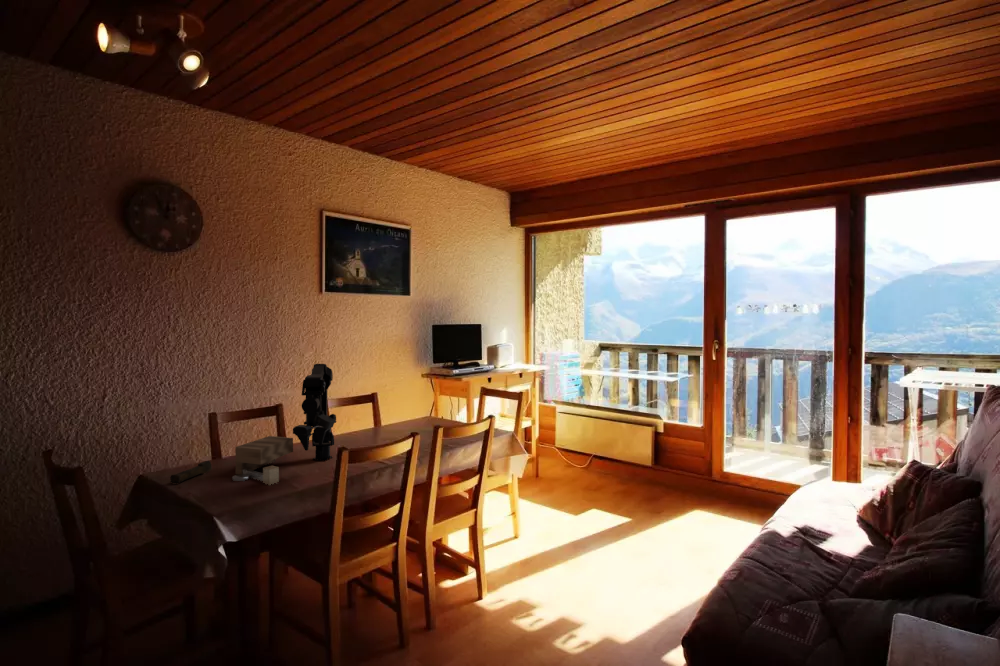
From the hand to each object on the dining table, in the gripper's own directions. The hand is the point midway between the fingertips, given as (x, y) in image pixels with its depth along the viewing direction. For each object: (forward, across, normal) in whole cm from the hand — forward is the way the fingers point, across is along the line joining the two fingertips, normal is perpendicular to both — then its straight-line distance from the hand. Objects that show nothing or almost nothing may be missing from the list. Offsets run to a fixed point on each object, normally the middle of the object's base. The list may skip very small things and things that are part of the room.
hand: (313, 447), depth 213 cm
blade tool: (+12, -9, +19) cm, 24 cm away
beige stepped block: (+12, +4, +26) cm, 29 cm away
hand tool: (+12, -14, +45) cm, 49 cm away
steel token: (+12, -11, +25) cm, 30 cm away
